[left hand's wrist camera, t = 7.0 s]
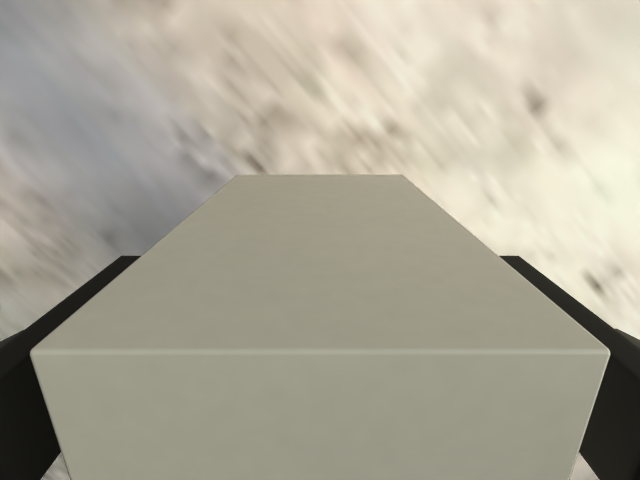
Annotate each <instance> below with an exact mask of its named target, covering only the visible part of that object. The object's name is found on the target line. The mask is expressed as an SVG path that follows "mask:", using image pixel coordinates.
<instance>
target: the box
mask: <svg viewBox="0 0 640 480" xmlns="http://www.w3.org/2000/svg"><path fill="white" fill-rule="evenodd" d="M30 357H31V360H32V363H33V366H34V369H35V372H36V375H37V378H38V381H39V385H40V388H41V391H42V394H43V397H44V400H45V403H46V406H47V409H48V412H49V415H50V418H51V421H52V424H53V428H54V431H55V434H56V437H57V440H58V443H59V446H60V449H61V452H62V455H63V458H64V461H65V464H66V467H67V471H68V474H69V477H70V480H570V477H571V474H572V471H573V468H574V464H575V461H576V458H577V455H578V452H579V449H580V446H581V443H582V440H583V437H584V434H585V431H586V428H587V425H588V421H589V418H590V415H591V412H592V409H593V406H594V403H595V400H596V397H597V394H598V391H599V388H600V385H601V381H602V378H603V375H604V372H605V369H606V366H607V363H608V360H609V357H610V351H609V349H608V348H607V347H606V346H605V345H603V344H602V343H601V342H600V341H599V340H598V339H596V338H595V337H594V336H593V335H592V334H590V333H589V332H588V331H587V330H586V329H585V328H583V327H582V326H581V325H580V324H579V323H577V322H576V321H575V320H574V319H573V318H572V317H570V316H569V315H568V314H567V313H566V312H564V311H563V310H562V309H561V308H560V307H558V306H557V305H556V304H555V303H554V302H553V301H551V300H550V299H549V298H548V297H547V296H545V295H544V294H543V293H542V292H541V291H540V290H538V289H537V288H536V287H535V286H534V285H532V284H531V283H530V282H529V281H528V280H526V279H525V278H524V277H523V276H522V275H521V274H519V273H518V272H517V271H516V270H515V269H513V268H512V267H511V266H510V265H509V264H508V263H506V262H505V261H504V260H503V259H502V258H500V257H499V256H498V255H497V254H496V253H495V252H493V251H492V250H491V249H490V248H489V247H487V246H486V245H485V244H484V243H483V242H481V241H480V240H479V239H478V238H477V237H476V236H474V235H473V234H472V233H471V232H470V231H468V230H467V229H466V228H465V227H464V226H463V225H461V224H460V223H459V222H458V221H457V220H455V219H454V218H453V217H452V216H451V215H450V214H448V213H447V212H446V211H445V210H444V209H442V208H441V207H440V206H439V205H438V204H436V203H435V202H434V201H433V200H432V199H431V198H429V197H428V196H427V195H426V194H425V193H423V192H422V191H421V190H420V189H419V188H418V187H416V186H415V185H414V184H413V183H412V182H410V181H409V180H408V179H407V178H406V177H404V176H403V175H236V176H235V177H234V178H233V179H232V180H230V181H229V182H228V183H227V184H226V185H225V186H223V187H222V188H221V189H220V190H219V191H217V192H216V193H215V194H214V195H213V196H212V197H210V198H209V199H208V200H207V201H206V202H204V203H203V204H202V205H201V206H200V207H199V208H197V209H196V210H195V211H194V212H193V213H192V214H190V215H189V216H188V217H187V218H186V219H184V220H183V221H182V222H181V223H180V224H179V225H177V226H176V227H175V228H174V229H173V230H171V231H170V232H169V233H168V234H167V235H166V236H164V237H163V238H162V239H161V240H160V241H159V242H157V243H156V244H155V245H154V246H153V247H151V248H150V249H149V250H148V251H147V252H146V253H144V254H143V255H142V256H141V257H140V258H138V259H137V260H136V261H135V262H134V263H133V264H131V265H130V266H129V267H128V268H127V269H126V270H124V271H123V272H122V273H121V274H120V275H118V276H117V277H116V278H115V279H114V280H113V281H111V282H110V283H109V284H108V285H107V286H105V287H104V288H103V289H102V290H101V291H100V292H98V293H97V294H96V295H95V296H94V297H93V298H91V299H90V300H89V301H88V302H87V303H85V304H84V305H83V306H82V307H81V308H80V309H78V310H77V311H76V312H75V313H74V314H72V315H71V316H70V317H69V318H68V319H67V320H65V321H64V322H63V323H62V324H61V325H60V326H58V327H57V328H56V329H55V330H54V331H52V332H51V333H50V334H49V335H48V336H47V337H45V338H44V339H43V340H42V341H41V342H39V343H38V344H37V345H36V346H35V347H34V348H32V349H31V351H30Z"/></svg>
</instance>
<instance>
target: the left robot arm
mask: <svg viewBox="0 0 640 480" xmlns="http://www.w3.org/2000/svg"><path fill="white" fill-rule="evenodd" d="M140 257H141V256H121V257H119V258H118V259H117V260H115V261H114V262H113V263H112V264H110V265H109V266H108V267H106V268H105V269H104V270H102V271H101V272H100V273H98V274H97V275H96V276H95V277H93V278H92V279H91V280H89V281H88V282H87V283H85V284H84V285H83V286H81V287H80V288H79V289H78V290H76V291H75V292H74V293H72V294H71V295H70V296H68V297H67V298H66V299H64V300H63V301H62V302H61V303H59V304H58V305H57V306H55V307H54V308H53V309H51V310H50V311H49V312H47V313H46V314H45V315H44V316H42V317H41V318H40V319H38V320H37V321H36V322H34V323H33V324H32V325H30V326H29V327H28V328H27V329H25V330H23V331H21V332H19V333H17V334H15V335H13V336H11V337H9V338H7V339H5V340H3V341H1V342H0V480H40V479H41V478H42V477H43V475H44V474H45V473H46V471H47V470H48V469H49V467H50V466H51V465H52V463H53V462H54V460H55V459H56V458H57V456H58V455H59V454H60V452H61V449H60V446H59V443H58V440H57V437H56V434H55V431H54V428H53V424H52V421H51V418H50V415H49V412H48V409H47V406H46V403H45V400H44V397H43V394H42V391H41V388H40V385H39V381H38V378H37V375H36V372H35V369H34V366H33V363H32V360H31V357H30V351H31V349H32V348H34V347H35V346H36V345H37V344H38V343H39V342H41V341H42V340H43V339H44V338H45V337H47V336H48V335H49V334H50V333H51V332H52V331H54V330H55V329H56V328H57V327H58V326H60V325H61V324H62V323H63V322H64V321H65V320H67V319H68V318H69V317H70V316H71V315H72V314H74V313H75V312H76V311H77V310H78V309H80V308H81V307H82V306H83V305H84V304H85V303H87V302H88V301H89V300H90V299H91V298H93V297H94V296H95V295H96V294H97V293H98V292H100V291H101V290H102V289H103V288H104V287H105V286H107V285H108V284H109V283H110V282H111V281H113V280H114V279H115V278H116V277H117V276H118V275H120V274H121V273H122V272H123V271H124V270H126V269H127V268H128V267H129V266H130V265H131V264H133V263H134V262H135V261H136V260H137V259H138V258H140ZM499 257H500V258H502V259H503V260H504V261H505V262H506V263H508V264H509V265H510V266H511V267H512V268H513V269H515V270H516V271H517V272H518V273H519V274H521V275H522V276H523V277H524V278H525V279H526V280H528V281H529V282H530V283H531V284H532V285H534V286H535V287H536V288H537V289H538V290H540V291H541V292H542V293H543V294H544V295H545V296H547V297H548V298H549V299H550V300H551V301H553V302H554V303H555V304H556V305H557V306H558V307H560V308H561V309H562V310H563V311H564V312H566V313H567V314H568V315H569V316H570V317H572V318H573V319H574V320H575V321H576V322H577V323H579V324H580V325H581V326H582V327H583V328H585V329H586V330H587V331H588V332H589V333H590V334H592V335H593V336H594V337H595V338H596V339H598V340H599V341H600V342H601V343H602V344H603V345H605V346H606V347H607V348H608V349H609V351H610V357H609V360H608V363H607V366H606V369H605V372H604V375H603V378H602V381H601V385H600V388H599V391H598V394H597V397H596V400H595V403H594V406H593V409H592V412H591V415H590V418H589V421H588V425H587V428H586V431H585V434H584V437H583V440H582V443H581V446H580V449H579V452H580V454H581V455H582V456H583V458H584V459H585V460H586V462H587V463H588V464H589V466H590V467H591V469H592V470H593V471H594V473H595V474H596V475H597V477H598V478H599V479H600V480H640V340H639V339H637V338H635V337H632V336H630V335H628V334H626V333H624V332H622V331H620V330H618V329H613V328H612V327H611V326H610V325H608V324H607V323H606V322H604V321H603V320H602V319H600V318H599V317H598V316H596V315H595V314H594V313H593V312H591V311H590V310H589V309H587V308H586V307H585V306H583V305H582V304H581V303H579V302H578V301H577V300H576V299H574V298H573V297H572V296H570V295H569V294H568V293H566V292H565V291H564V290H562V289H561V288H560V287H559V286H557V285H556V284H555V283H553V282H552V281H551V280H549V279H548V278H547V277H545V276H544V275H543V274H542V273H540V272H539V271H538V270H536V269H535V268H534V267H532V266H531V265H530V264H529V263H527V262H526V261H525V260H523V259H522V258H521V257H519V256H499Z"/></svg>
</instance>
